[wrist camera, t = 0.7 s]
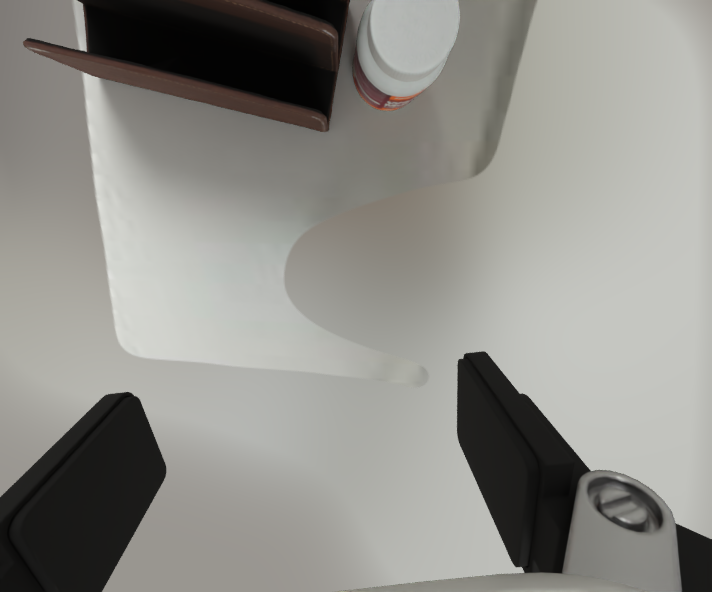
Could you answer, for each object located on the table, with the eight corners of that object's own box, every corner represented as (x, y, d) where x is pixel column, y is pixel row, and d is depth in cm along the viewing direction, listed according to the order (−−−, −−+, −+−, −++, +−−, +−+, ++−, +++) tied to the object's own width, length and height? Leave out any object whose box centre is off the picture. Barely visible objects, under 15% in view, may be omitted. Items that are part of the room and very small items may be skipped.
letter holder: (87, -76, 25) (-186, -335, 12) (350, 0, 27) (362, -145, 14) (96, 78, 29) (-109, 8, 15) (328, 133, 31) (321, 114, 18)
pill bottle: (384, 127, 31) (407, 110, 21) (337, 68, 29) (337, 17, 19) (437, 74, 30) (491, 27, 19) (391, 9, 28) (424, -83, 17)
